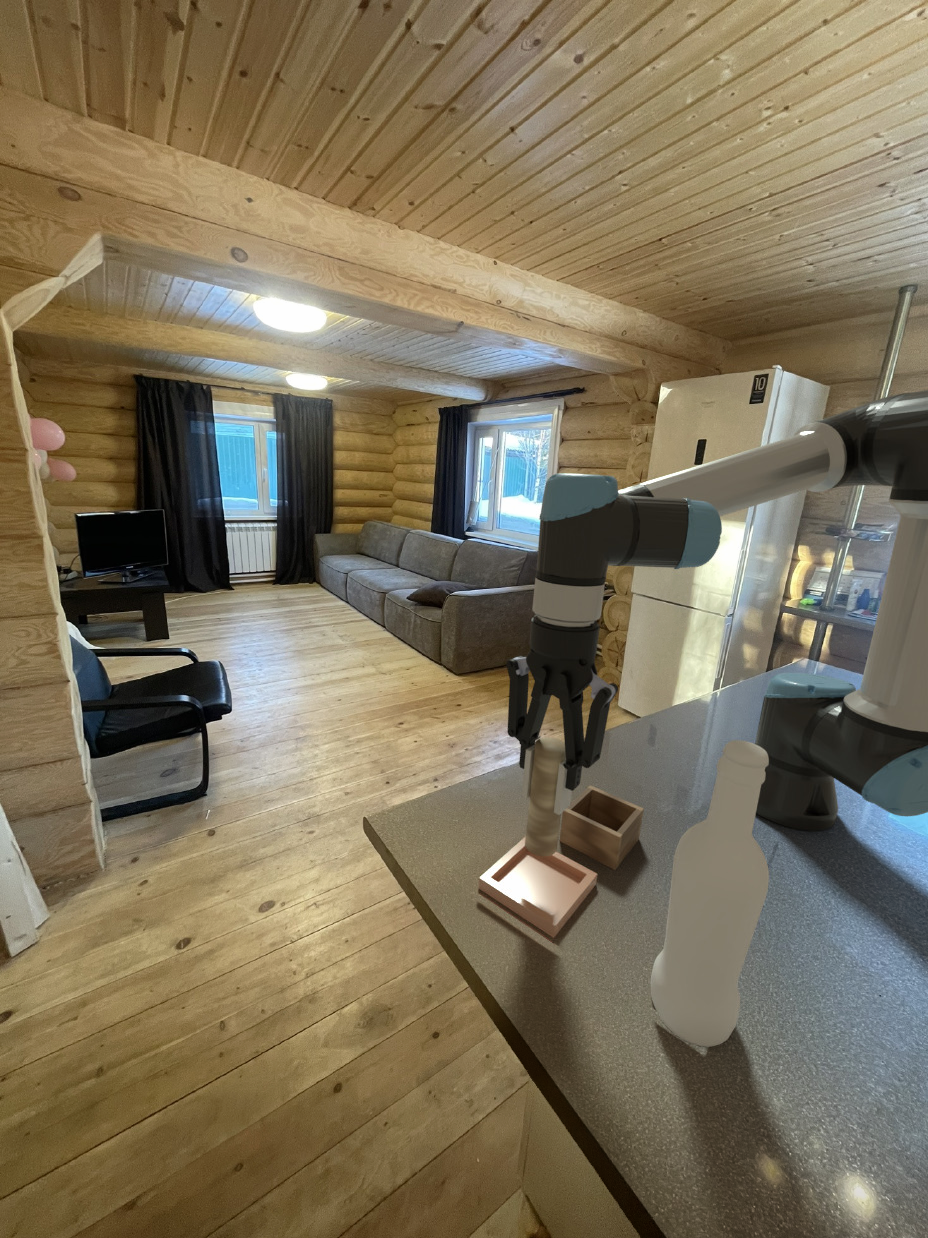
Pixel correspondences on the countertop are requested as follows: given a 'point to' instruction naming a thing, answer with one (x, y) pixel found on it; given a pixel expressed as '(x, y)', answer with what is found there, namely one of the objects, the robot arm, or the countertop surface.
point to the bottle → (714, 905)
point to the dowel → (544, 797)
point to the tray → (538, 887)
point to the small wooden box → (601, 826)
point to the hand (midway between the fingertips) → (545, 800)
